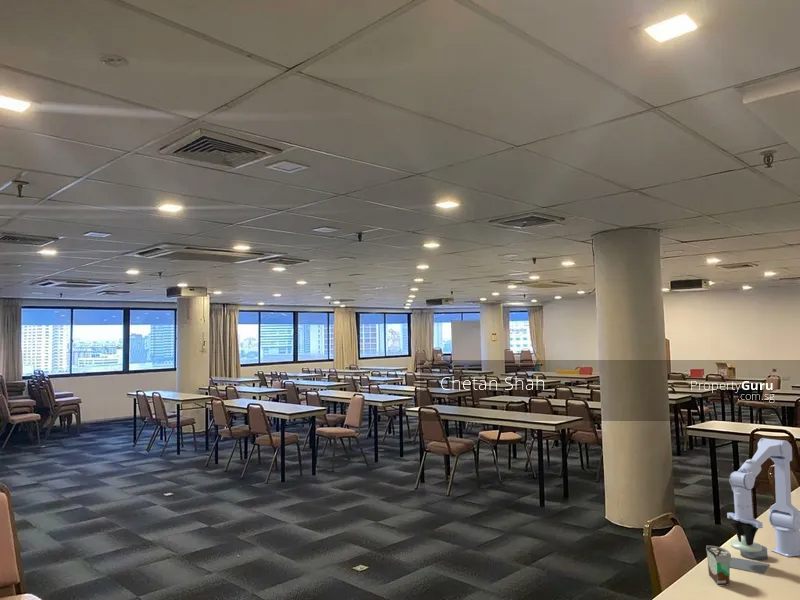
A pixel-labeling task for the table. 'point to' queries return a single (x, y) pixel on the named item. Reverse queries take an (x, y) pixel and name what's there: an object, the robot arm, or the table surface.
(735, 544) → the lid
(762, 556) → the tin
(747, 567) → the mat
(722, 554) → the food container
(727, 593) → the table surface
